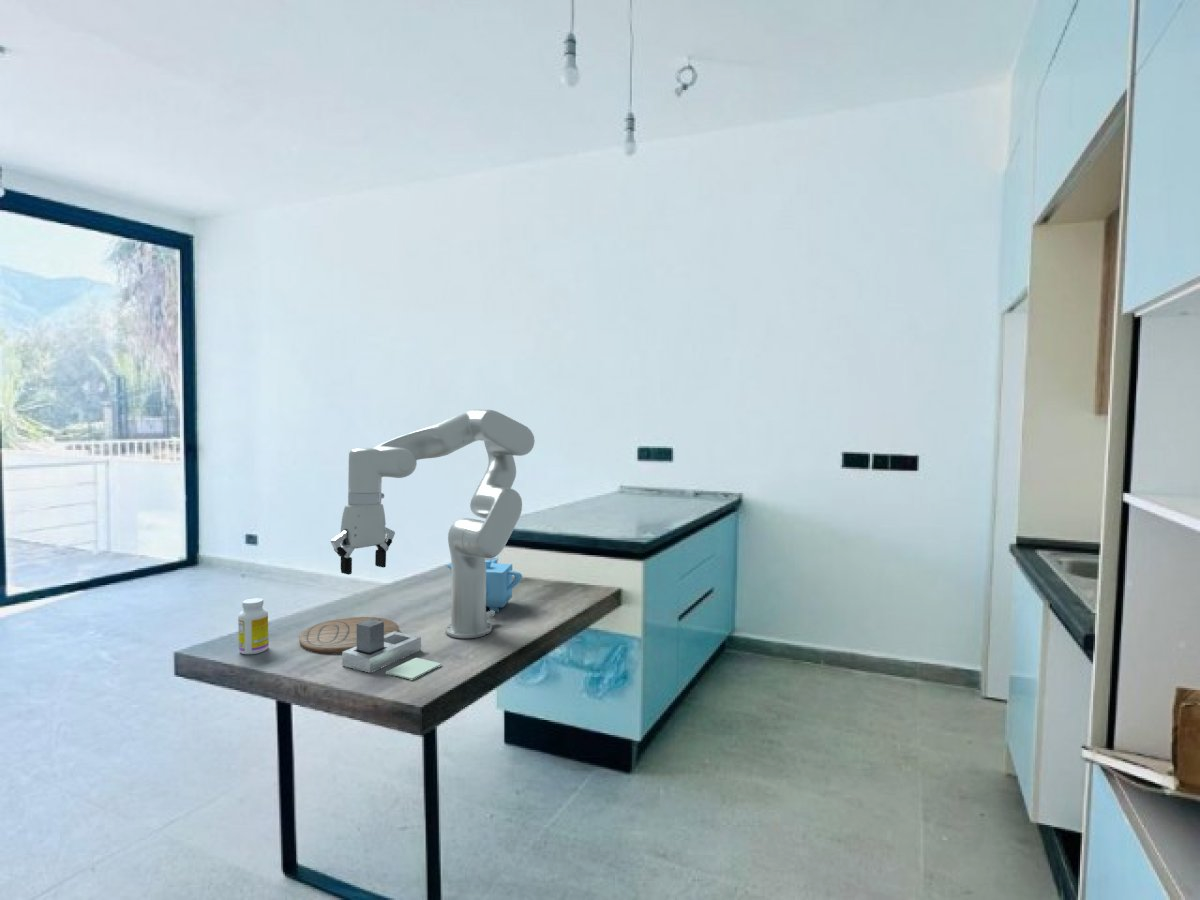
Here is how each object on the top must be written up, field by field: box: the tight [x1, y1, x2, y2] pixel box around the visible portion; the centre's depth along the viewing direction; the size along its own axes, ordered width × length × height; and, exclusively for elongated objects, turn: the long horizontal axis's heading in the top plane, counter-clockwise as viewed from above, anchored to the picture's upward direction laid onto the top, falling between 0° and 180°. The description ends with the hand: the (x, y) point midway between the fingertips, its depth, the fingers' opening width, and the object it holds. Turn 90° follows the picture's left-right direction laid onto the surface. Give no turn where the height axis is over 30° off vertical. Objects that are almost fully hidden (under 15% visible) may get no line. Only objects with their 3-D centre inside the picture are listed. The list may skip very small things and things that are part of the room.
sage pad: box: [385, 657, 442, 679], centre depth 153 cm, size 10×8×1 cm
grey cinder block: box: [341, 631, 422, 674], centre depth 160 cm, size 17×9×4 cm, turn 153°
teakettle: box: [444, 557, 523, 612], centre depth 204 cm, size 19×19×15 cm
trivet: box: [298, 616, 399, 654], centre depth 175 cm, size 25×25×2 cm
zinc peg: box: [357, 619, 384, 655], centre depth 157 cm, size 4×4×10 cm
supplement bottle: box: [237, 597, 269, 655], centre depth 164 cm, size 7×7×13 cm
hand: (363, 570), depth 157 cm, fingers open, 9 cm apart
